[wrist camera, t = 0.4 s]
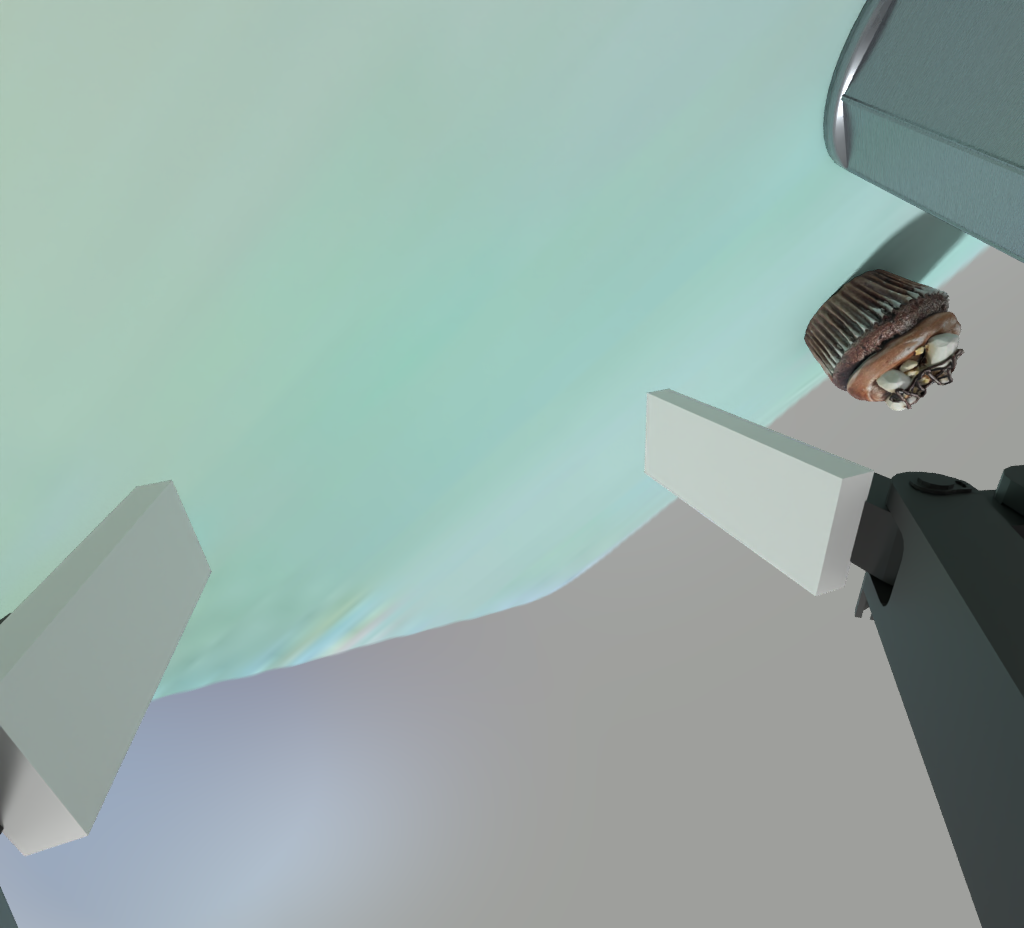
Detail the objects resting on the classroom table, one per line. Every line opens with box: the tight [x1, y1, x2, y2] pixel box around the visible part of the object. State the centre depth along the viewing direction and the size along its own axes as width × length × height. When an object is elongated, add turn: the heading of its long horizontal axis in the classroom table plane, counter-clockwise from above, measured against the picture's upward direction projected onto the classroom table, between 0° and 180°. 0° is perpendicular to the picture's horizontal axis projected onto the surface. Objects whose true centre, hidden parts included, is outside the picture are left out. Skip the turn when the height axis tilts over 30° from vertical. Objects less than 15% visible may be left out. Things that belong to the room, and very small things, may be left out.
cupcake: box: [804, 269, 964, 411], centre depth 39 cm, size 10×10×10 cm
